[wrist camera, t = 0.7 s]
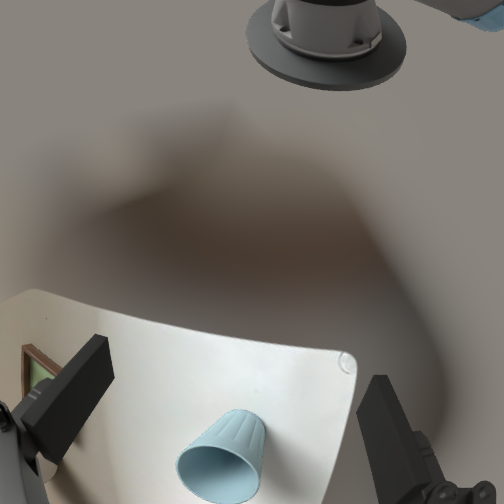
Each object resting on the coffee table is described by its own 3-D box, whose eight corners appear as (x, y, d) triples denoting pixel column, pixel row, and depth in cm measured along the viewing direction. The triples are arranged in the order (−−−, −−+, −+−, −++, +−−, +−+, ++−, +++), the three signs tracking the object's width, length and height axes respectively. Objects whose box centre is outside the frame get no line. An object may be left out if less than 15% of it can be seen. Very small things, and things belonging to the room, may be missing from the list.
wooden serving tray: (31, 343, 37) (21, 345, 35) (76, 378, 35) (66, 381, 33) (30, 399, 37) (22, 401, 35) (73, 435, 34) (65, 440, 32)
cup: (210, 448, 30) (178, 495, 20) (209, 396, 31) (172, 436, 21) (271, 456, 29) (256, 510, 19) (275, 404, 30) (260, 451, 19)
